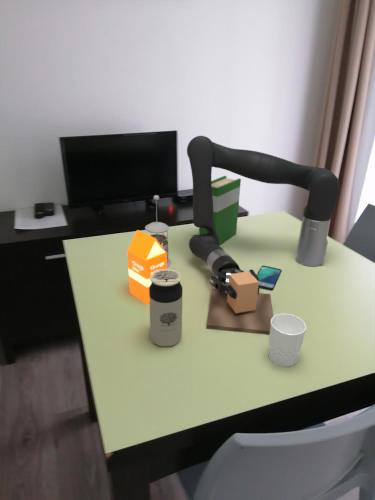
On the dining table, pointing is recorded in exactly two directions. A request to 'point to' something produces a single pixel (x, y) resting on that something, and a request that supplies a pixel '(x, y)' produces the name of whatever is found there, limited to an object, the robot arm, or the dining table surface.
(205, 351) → the dining table surface
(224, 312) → the post base
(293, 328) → the white cup
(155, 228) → the french press
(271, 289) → the smartphone
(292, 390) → the dining table surface
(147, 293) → the orange juice
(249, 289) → the tall peach pillar
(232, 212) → the hardback book
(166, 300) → the travel mug
